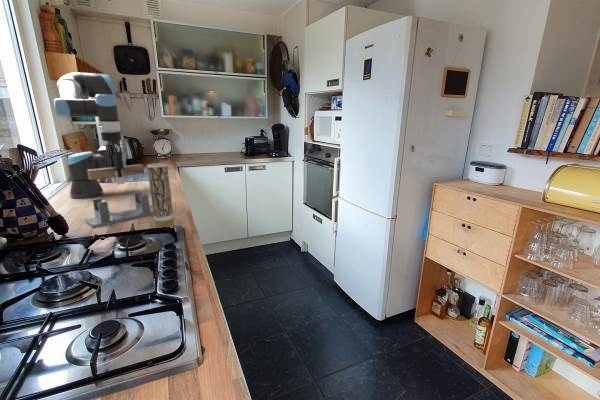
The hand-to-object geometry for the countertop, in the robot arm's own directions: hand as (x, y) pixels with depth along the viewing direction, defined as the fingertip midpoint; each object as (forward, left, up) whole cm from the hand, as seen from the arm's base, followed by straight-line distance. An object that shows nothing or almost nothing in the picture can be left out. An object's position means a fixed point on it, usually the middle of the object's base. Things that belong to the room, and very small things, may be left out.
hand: (118, 183), depth 141 cm
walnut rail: (0, 0, +3) cm, 3 cm away
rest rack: (+1, 0, -12) cm, 12 cm away
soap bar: (+44, -20, -13) cm, 50 cm away
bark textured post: (+41, +2, -13) cm, 42 cm away
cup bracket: (+15, -4, -12) cm, 19 cm away
